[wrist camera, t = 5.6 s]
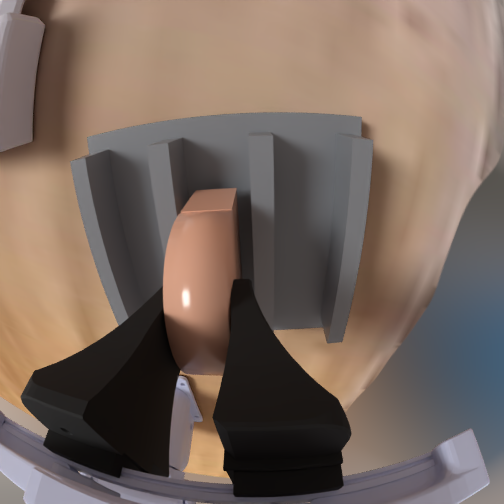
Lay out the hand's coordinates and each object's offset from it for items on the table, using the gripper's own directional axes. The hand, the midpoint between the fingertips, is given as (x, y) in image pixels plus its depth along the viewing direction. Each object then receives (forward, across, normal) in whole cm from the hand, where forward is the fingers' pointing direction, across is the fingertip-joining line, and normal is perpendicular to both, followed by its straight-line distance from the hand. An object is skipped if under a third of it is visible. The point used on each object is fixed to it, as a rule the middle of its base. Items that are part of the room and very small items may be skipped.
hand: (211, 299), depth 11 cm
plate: (+4, 0, 0) cm, 4 cm away
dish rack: (+6, 0, 0) cm, 6 cm away
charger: (+7, +16, -16) cm, 24 cm away
